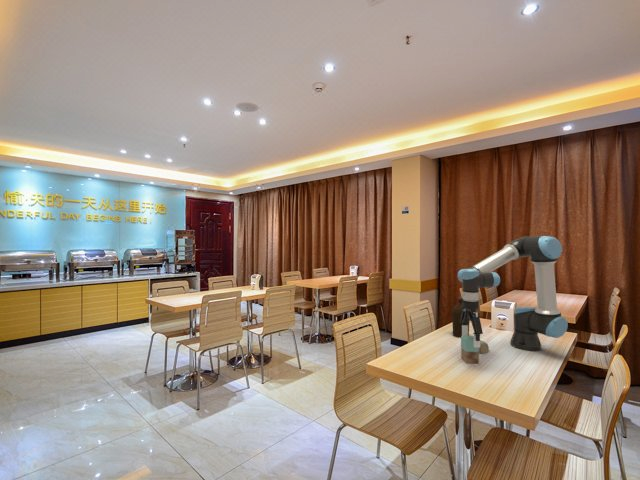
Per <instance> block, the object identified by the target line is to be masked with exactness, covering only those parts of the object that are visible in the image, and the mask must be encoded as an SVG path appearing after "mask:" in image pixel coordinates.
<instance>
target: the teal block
mask: <svg viewBox="0 0 640 480" xmlns="http://www.w3.org/2000/svg"><path fill="white" fill-rule="evenodd" d="M461 348H462V349H463V350H465V351H466V352H478V347H474V335H469V336H461V338H460V349H461Z"/></svg>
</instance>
